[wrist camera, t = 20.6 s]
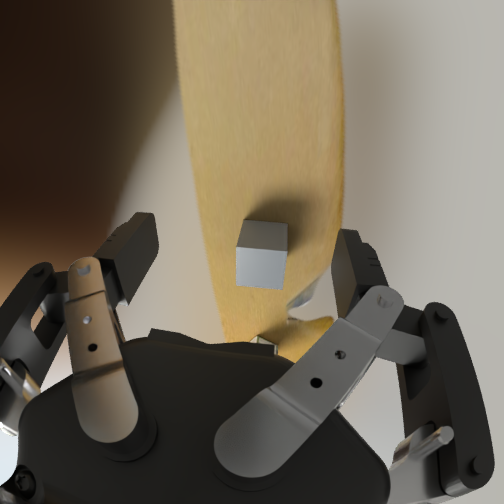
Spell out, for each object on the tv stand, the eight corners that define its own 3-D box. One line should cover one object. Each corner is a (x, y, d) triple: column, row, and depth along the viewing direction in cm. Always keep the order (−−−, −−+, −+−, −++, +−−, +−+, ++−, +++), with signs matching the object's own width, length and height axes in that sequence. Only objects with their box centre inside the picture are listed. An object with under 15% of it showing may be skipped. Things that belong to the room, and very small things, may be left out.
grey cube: (243, 219, 44) (236, 247, 38) (287, 223, 44) (287, 251, 37) (242, 255, 48) (236, 285, 42) (283, 259, 47) (282, 289, 41)
